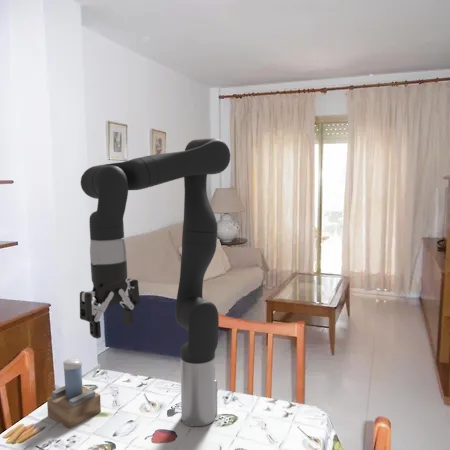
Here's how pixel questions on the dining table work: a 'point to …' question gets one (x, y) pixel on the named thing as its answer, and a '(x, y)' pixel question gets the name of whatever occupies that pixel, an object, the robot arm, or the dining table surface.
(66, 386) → the ball-topped blue cylinder
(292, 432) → the dining table surface
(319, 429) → the dining table surface
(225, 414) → the dining table surface
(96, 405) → the display plinth
